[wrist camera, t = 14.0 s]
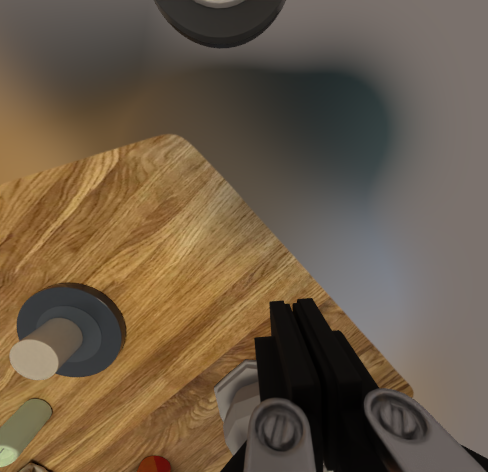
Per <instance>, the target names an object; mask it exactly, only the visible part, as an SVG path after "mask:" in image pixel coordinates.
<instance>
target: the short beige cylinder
mask: <svg viewBox="0 0 488 472" xmlns="http://www.w3.org/2000/svg"><path fill="white" fill-rule="evenodd" d="M82 341H83V335H82V332H81V330H80V328H79V327H78V326H77V325H76V324H75V323H73V322H72V321H70V320H68V319H65V318H53V319H50V320H48V321H47V322H45V323H44V324H42V325H41V326H40V327H38V328H37V329H35V330H34V331H33V332H31V333H30V334H29V335H27V336H26V337H24V338H23V339H22V340H20V341H19V342H18V343H16V344H15V345H14V346H13V347H12V349H11V351H10V362H11V364H12V366H13V368H14V369H15V370H16V371H17V372H18V373H19V374H20V375H22V376H24V377H26V378H29V379H32V380H44V379H47V378H49V377H51V376H53V375H54V374H55V373H56V372H57V371H58V370H59V369H60V368H61V367H62V366H63V364H64V363H65V362H66V361H67V360H68V359H69V358H70V357H71V356H72V355H73V354H74V353H75V352H76V351H77V350H78V349H79V348H80V346H81V344H82Z"/></svg>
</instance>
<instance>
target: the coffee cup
mask: <svg viewBox="0 0 488 472" xmlns="http://www.w3.org/2000/svg"><path fill="white" fill-rule="evenodd" d="M170 470H171V466H170V463H169V462H168V461H167V460H166V459H165V458H163V457H160V456H149V457H147V458H145V459H144V460H142V462H141V464H140V466H139V468H138V470H137V472H170Z"/></svg>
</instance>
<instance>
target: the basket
mask: <svg viewBox="0 0 488 472" xmlns="http://www.w3.org/2000/svg"><path fill="white" fill-rule="evenodd" d="M33 468H34V469H33ZM19 472H48V471H46V469H45V468H44V467H42V466H39V465H35V464H34V463H29V464H27V465H26V466H25V467H24V468H23V469H21V470H20V471H19Z"/></svg>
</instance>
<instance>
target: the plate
mask: <svg viewBox="0 0 488 472" xmlns="http://www.w3.org/2000/svg"><path fill="white" fill-rule="evenodd" d="M53 318H65V319H68V320H70V321H72V322H73V323H75V324H76V325H77V326H78V327H79V328H80V330H81V332H82V335H83V341H82V344H81V346H80V348H79V349H78V350H77V351H76V352H75V353H74V354H73V355H72V356H71V357H70V358H69V359H68V360H67V361H66V362H65V363H64V364H63V366H62V367H61V368H60V369H59V370H58V371H57V372H56V374H59V375H62V376H68V377H85V376H91V375H94V374H97V373H99V372H101V371H103V370H104V369H106V368H107V367H108V366H110V365H111V364H112V363H113V361H114V360H115V359H116V357H117V356H118V355H119V353H120V351H121V350H122V348H123V346H124V343H125V338H126V327H125V322H124V319H123V316H122V314H121V312H120V311H119V309H118V308H117V306H116V305H115V304H114V303H113V302H112V301H111V300H110V299H109V298H108V297H107V296H106V295H104V294H103V293H101V292H100V291H98V290H96V289H94V288H91V287H89V286H86V285H82V284H77V283H61V284H55V285H52V286H49V287H47V288H45V289H43V290H41V291H39V292H38V293H36V294H34V295H33V296H31V297H30V298H29V299H28V300H27V301H26V302H25V303H24V305H23V306H22V308H21V310H20V312H19V314H18V318H17V333H18V337H19V340H22V339H23V338H24V337H26V336H27V335H29V334H30V333H31V332H33V331H34V330H35V329H37V328H38V327H40V326H41V325H42V324H44V323H45V322H47V321H48V320H50V319H53Z"/></svg>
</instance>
